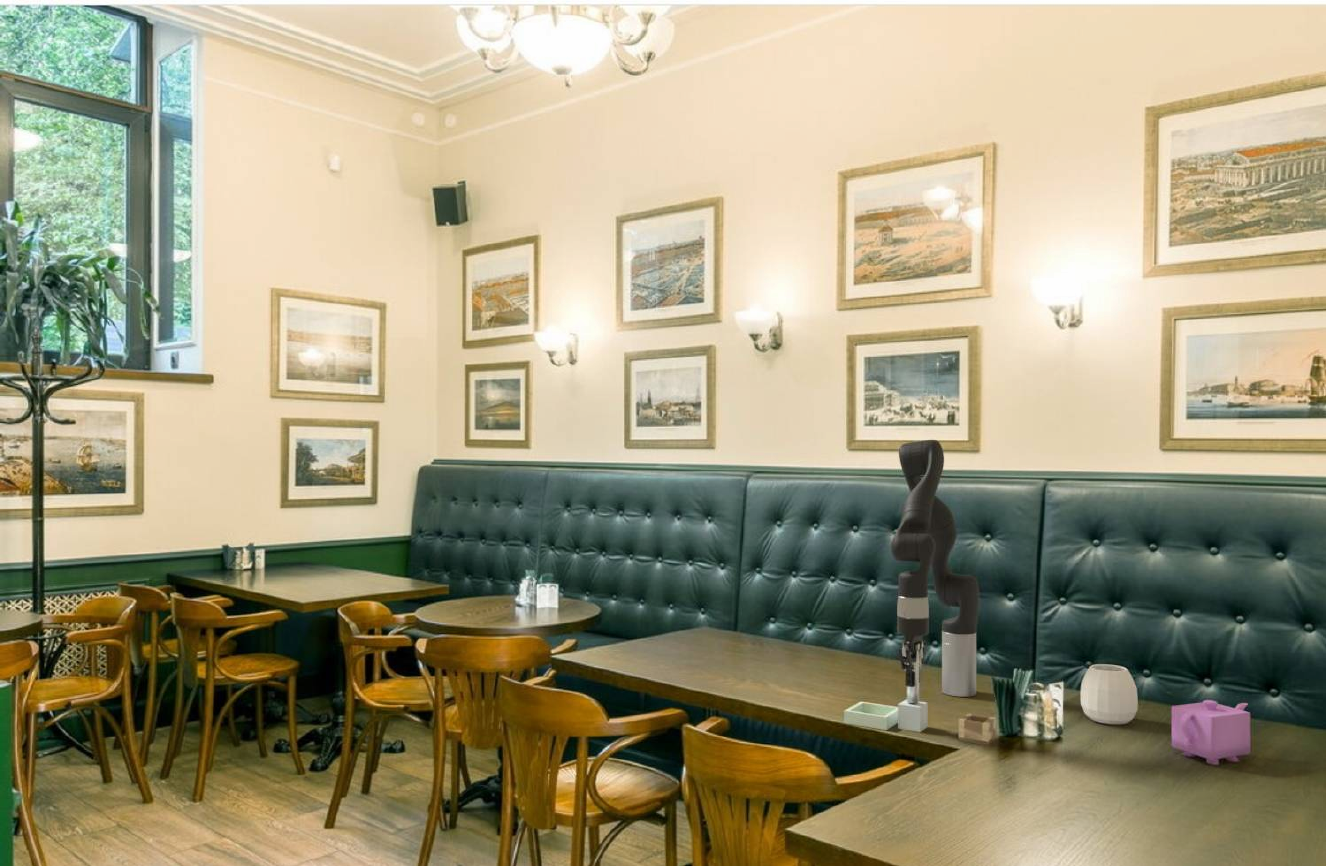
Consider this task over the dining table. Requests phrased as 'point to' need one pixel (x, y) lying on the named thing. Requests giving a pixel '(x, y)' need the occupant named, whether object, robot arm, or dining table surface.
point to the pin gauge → (914, 691)
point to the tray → (871, 715)
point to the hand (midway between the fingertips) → (912, 684)
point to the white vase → (1109, 694)
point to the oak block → (977, 729)
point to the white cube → (912, 716)
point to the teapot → (1211, 730)
